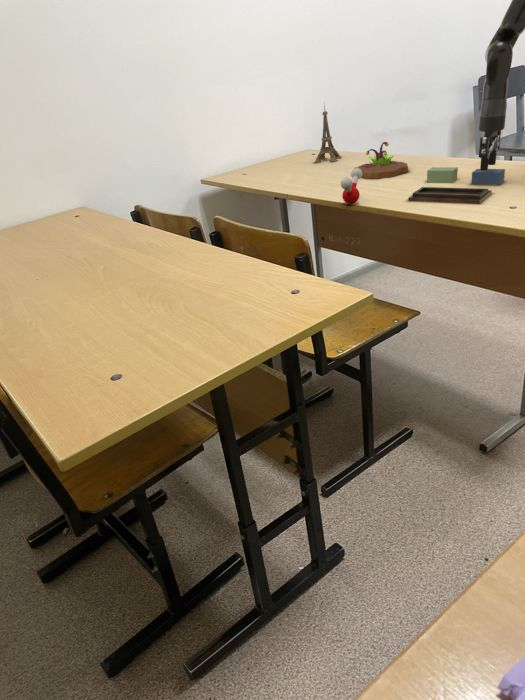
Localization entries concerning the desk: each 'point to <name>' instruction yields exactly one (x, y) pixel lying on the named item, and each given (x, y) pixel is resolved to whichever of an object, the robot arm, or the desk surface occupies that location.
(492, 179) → the blue rectangular block
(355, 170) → the molecular model
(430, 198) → the dark wooden tray
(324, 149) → the eiffel tower
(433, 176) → the green rectangular block
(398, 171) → the plant
